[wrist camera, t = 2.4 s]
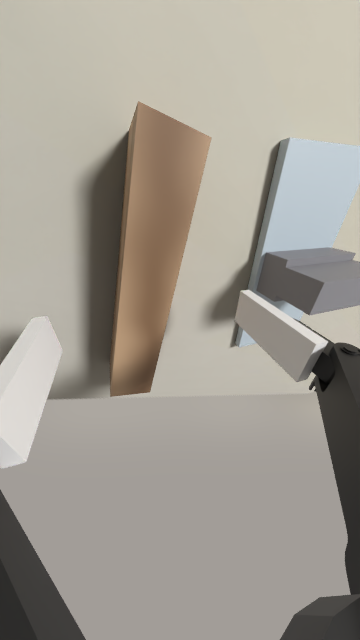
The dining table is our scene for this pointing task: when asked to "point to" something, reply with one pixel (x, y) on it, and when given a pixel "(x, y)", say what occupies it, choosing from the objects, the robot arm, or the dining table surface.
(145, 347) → the bar
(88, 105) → the dining table surface
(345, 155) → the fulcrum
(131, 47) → the dining table surface
